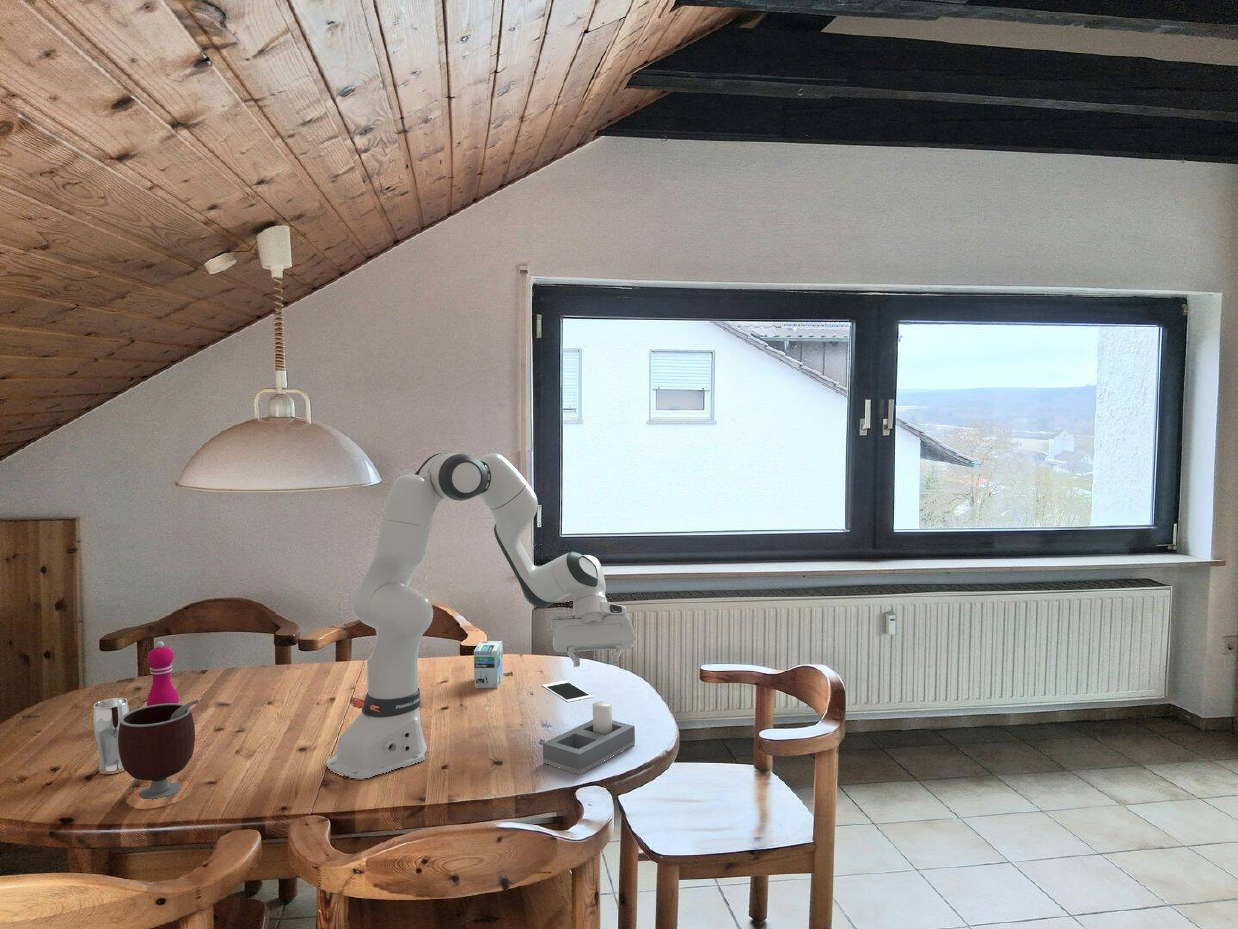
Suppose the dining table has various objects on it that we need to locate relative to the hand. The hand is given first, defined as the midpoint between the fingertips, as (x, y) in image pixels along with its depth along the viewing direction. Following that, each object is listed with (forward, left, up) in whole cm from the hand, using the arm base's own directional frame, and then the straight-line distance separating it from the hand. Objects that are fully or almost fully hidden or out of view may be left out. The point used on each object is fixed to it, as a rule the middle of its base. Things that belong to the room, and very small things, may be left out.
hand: (596, 664), depth 214 cm
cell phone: (+17, +24, -17) cm, 34 cm away
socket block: (-13, -8, -16) cm, 22 cm away
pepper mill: (-58, +95, -16) cm, 112 cm away
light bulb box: (+10, +47, -16) cm, 51 cm away
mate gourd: (-80, +50, -16) cm, 96 cm away
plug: (-8, -8, -15) cm, 19 cm away
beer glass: (-80, +72, -16) cm, 109 cm away
